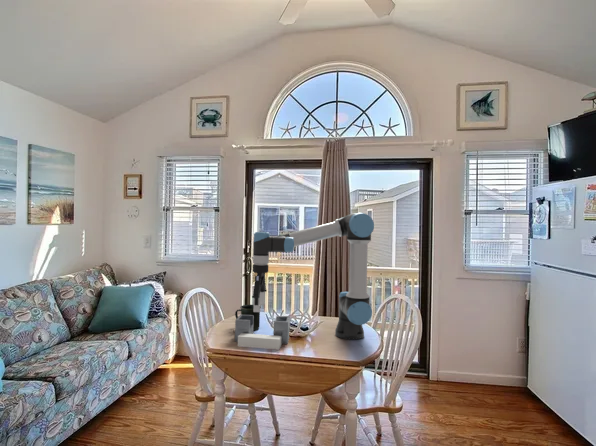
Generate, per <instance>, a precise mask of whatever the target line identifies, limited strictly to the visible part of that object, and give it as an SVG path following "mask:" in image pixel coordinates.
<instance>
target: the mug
mask: <svg viewBox="0 0 596 446" xmlns="http://www.w3.org/2000/svg"><path fill="white" fill-rule="evenodd" d="M261 308H262V307H261V306H260V309H261ZM253 309H254V304H243V305H241V306H240V309H236V310H235V313H234V316H235V318H236V319H237V318H238V317H239V315H238V312H240V314H242V315H254V319H253V332H255V331H257V330H259V329H260V321H261V320H260V318H261V316H260V315H261V311H260V312H253ZM236 319H235V320H236Z"/></svg>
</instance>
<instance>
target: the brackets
mask: <svg viewBox="0 0 596 446" xmlns="http://www.w3.org/2000/svg"><path fill="white" fill-rule="evenodd" d="M253 319H254V315H242V314H241V313H240V314H239V315H238V318H237V319H235V321H234V323H235V326H234V327H235V328H234V330H235V331H234V342H236V343H238V336H239V335H240V334H241V333H247V334H254V331H253ZM290 326H291V316H289V315H288V316H287V315H286V316H285V315H281V316H280V315H276V317H275V320H274V321H273V335H274V336H281V345H288V343H289V340H290V336H289V332H290V329H291V327H290Z"/></svg>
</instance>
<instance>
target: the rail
mask: <svg viewBox="0 0 596 446" xmlns="http://www.w3.org/2000/svg"><path fill="white" fill-rule="evenodd" d="M237 347H244V348H253V349H256V348H257V349H268V350H280V349H281V348H282V344H281V336H274V334H273V335H272V334H271V335H270V334H269V335H268V334H259V333H258V334H257V333H253V334H247V333H241V334H240V335H239V336H238V342H237Z"/></svg>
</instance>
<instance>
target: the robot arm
mask: <svg viewBox="0 0 596 446" xmlns="http://www.w3.org/2000/svg"><path fill="white" fill-rule="evenodd" d="M374 229H375V222H374V220H373V218H372V217H371V216H370V215H369V214H367V213H365V212H356V213H355V212H353V213H349V214H346V215H345V216H342V217H340V218H336V219H335V220H334V221H332V222H328V223H323V224H321V225H317V226H311V227H308V228H304V229H301V230H296V231H293V232H290V233H285V234H282V235H277V236H271V235H270V232H269V231H256V232H254V234H253V242H252V243H253V246H252V247H253V249H252V251H253V253H252V255H253V256H251V259H252V263H253V264H252V272H253V273H256V275H254V285H253V293H252V296H251V297H252V299H253V305H254V309H253V312H260V313H261V308H260V307H261V306H265V304H266V303H265V301H266V300H265V299H266V292H267V287H266V273H267V274H268V272H269V263H270V262H269V261H270V253H286V254H287V253H293V252H294V250H295V247H298V246H303V245H307V244H310V243H314V242H319V241H322V240H327V239H331V238H334V237H340V238H341V237H346V240H347V241H348V243H349V269H348V272H349V275H348V276H349V277H348V279H349V280H348V281H349V282H348V291H341V292H339V297H338V298H339V299H338V321H337V324H336V328H335V330H334V331H335V332H334V334H335V336H336V337H337V338H340V339H344V340H349V341H350V340H352V341H353V340H354V339H355V340H360V338H361V339H363V338H364V337H365V331H364V327H363V325H365V324H368V322H369V321H370V320H371V318H372V317H373V309H372V307H371V306H370V303H371V302H370V295H369V293H368V291H367V289H368V287H367V286H368V285H367V283H368V282H367V281H368V251H369V250H368V249H369V248H368V245H369V243H370V242H371V241H372V238H371V237H372V233H373V232H374Z"/></svg>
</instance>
